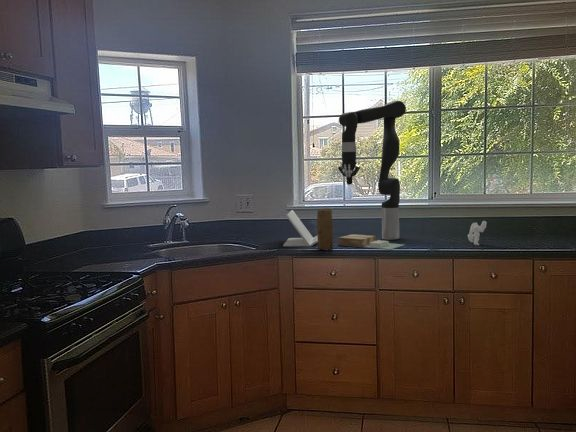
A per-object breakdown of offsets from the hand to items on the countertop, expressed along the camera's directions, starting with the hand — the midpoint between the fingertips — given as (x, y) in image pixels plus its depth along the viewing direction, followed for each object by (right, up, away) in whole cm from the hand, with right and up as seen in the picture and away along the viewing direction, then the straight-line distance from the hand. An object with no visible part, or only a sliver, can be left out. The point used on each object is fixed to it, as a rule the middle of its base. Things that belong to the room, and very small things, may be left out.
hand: (349, 184), depth 274 cm
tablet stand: (-24, -31, +9) cm, 41 cm away
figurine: (+62, -31, -13) cm, 71 cm away
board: (+4, -31, -3) cm, 32 cm away
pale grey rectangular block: (+14, -30, -11) cm, 35 cm away
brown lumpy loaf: (-14, -33, -13) cm, 38 cm away
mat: (+16, -32, -11) cm, 37 cm away
